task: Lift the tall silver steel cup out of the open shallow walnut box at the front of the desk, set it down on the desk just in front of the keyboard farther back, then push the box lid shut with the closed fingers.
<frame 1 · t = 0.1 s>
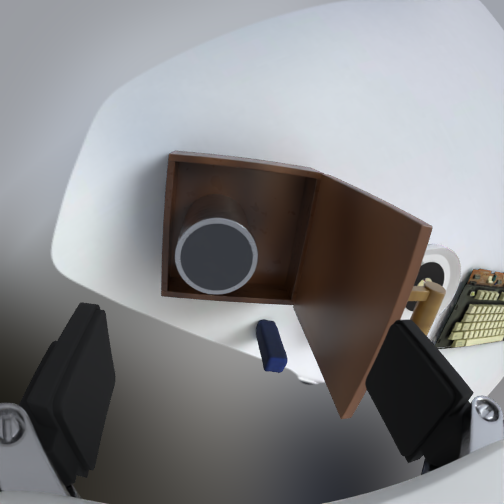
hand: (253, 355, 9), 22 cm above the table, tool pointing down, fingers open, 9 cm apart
record player: (399, 288, 36), on the table
steel cup: (215, 224, 29), point 1 cm above the table, touching storage box
lid: (366, 283, 22), point 11 cm above the table, hinge at 90.0°
storage box: (235, 224, 30), on the table
eraser: (265, 326, 36), on the table
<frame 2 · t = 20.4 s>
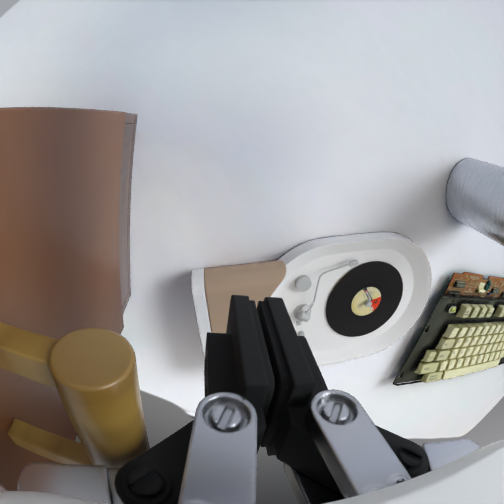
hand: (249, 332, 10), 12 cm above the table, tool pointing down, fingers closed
record player: (324, 301, 25), on the table
steel cup: (467, 190, 22), on the table
lid: (103, 304, 10), point 11 cm above the table, hinge at 85.5°
storage box: (49, 206, 19), on the table
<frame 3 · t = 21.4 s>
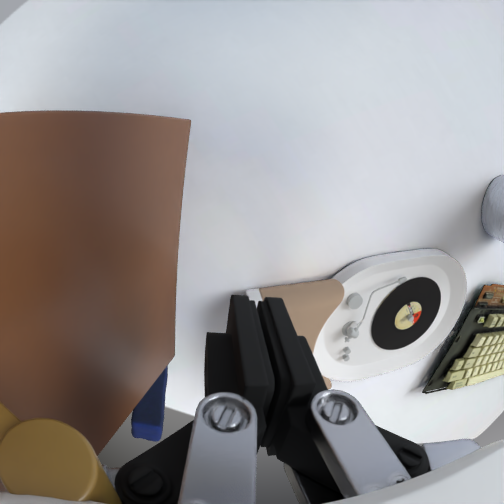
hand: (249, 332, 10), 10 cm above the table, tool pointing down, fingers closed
record player: (368, 316, 24), on the table
steel cup: (499, 206, 21), on the table
lid: (130, 349, 8), point 11 cm above the table, hinge at 67.9°
eraser: (155, 365, 23), on the table
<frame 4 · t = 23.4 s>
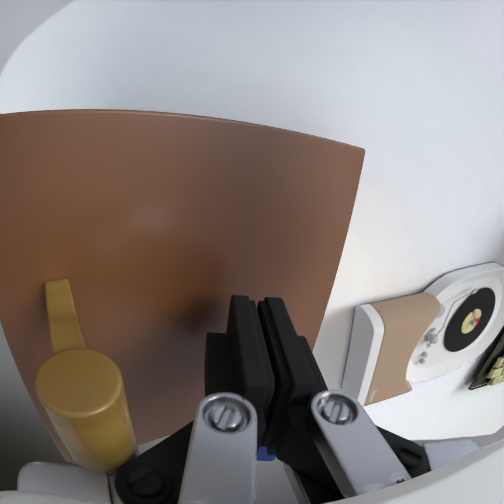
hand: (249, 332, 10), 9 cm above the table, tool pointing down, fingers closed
record player: (441, 323, 24), on the table
lid: (240, 349, 9), point 10 cm above the table, hinge at 29.5°
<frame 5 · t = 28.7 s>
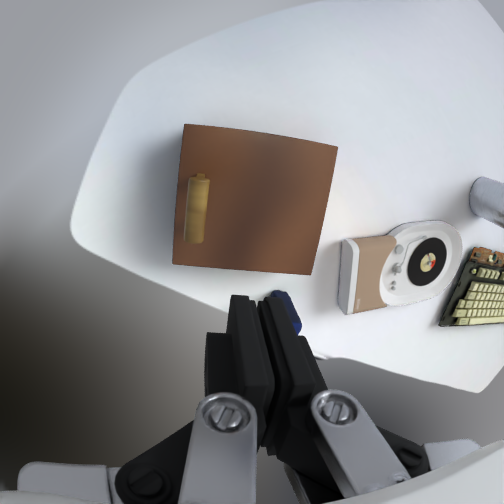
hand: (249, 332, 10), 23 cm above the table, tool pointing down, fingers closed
record player: (405, 262, 38), on the table
steel cup: (481, 196, 35), on the table
lid: (256, 210, 26), point 6 cm above the table, hinge at -0.2°
eraser: (277, 296, 37), on the table
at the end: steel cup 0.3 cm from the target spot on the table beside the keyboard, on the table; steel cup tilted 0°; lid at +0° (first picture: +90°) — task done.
